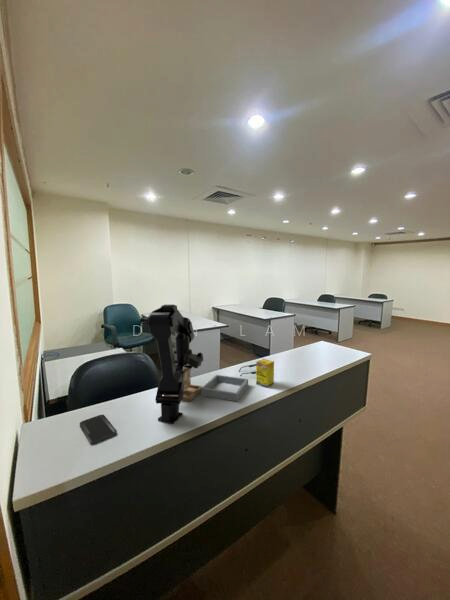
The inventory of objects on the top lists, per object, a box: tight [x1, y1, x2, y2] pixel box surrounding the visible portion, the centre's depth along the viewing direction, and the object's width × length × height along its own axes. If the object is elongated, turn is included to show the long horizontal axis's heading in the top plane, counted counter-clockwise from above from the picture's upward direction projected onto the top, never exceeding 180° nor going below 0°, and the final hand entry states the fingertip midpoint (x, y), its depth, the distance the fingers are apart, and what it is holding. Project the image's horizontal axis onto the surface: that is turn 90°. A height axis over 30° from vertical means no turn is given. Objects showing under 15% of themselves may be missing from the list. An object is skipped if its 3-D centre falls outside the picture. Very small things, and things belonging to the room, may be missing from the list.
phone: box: [79, 414, 118, 446], centre depth 82 cm, size 8×1×15 cm
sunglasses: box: [238, 363, 256, 377], centre depth 128 cm, size 10×12×5 cm
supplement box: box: [255, 358, 275, 389], centre depth 115 cm, size 6×6×11 cm
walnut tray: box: [163, 384, 203, 403], centre depth 107 cm, size 12×12×2 cm
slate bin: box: [201, 374, 249, 402], centre depth 109 cm, size 16×16×3 cm
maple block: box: [183, 367, 192, 390], centre depth 106 cm, size 4×4×8 cm
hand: (183, 383), depth 106 cm, fingers closed on maple block, 4 cm apart
